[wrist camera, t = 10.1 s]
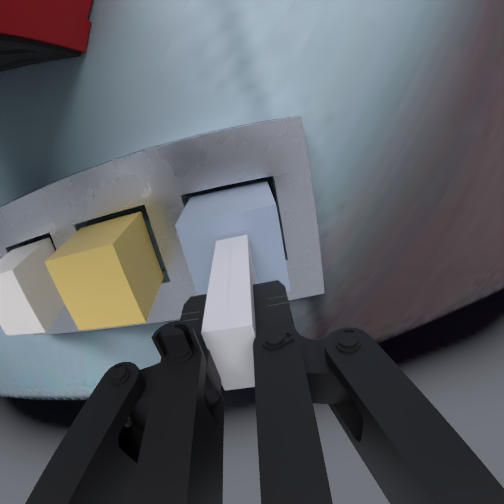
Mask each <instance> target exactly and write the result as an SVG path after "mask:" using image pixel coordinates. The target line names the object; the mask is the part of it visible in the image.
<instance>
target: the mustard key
mask: <svg viewBox="0 0 504 504" xmlns="http://www.w3.org/2000/svg"><path fill="white" fill-rule="evenodd" d="M44 262H45V264H46V267H47V269H48V271H49V273H50V275H51V277H52V280H53V282H54V284H55V286H56V288H57V290H58V292H59V294H60V296H61V298H62V300H63V302H64V304H65V305H66V307H67V309H68V311H69V313H70V315H71V317H72V318H73V320H74V322H75V324H76V325H77V327H78V329H79V330H87V329H96V328H105V327H114V326H122V325H130V324H138V323H145V322H146V321H147V318H148V316H149V313H150V310H151V308H152V305H153V303H154V300H155V298H156V295H157V293H158V290H159V288H160V285H161V283H162V280H163V278H164V276H163V273H162V270H161V268H160V265H159V262H158V259H157V257H156V254H155V251H154V248H153V245H152V242H151V239H150V236H149V233H148V230H147V227H146V224H145V221H144V218H143V215H142V212H137V213H133V214H129V215H125V216H122V217H118V218H114V219H111V220H107V221H104V222H100V223H97V224H93V225H90V226H86V227H83V228H80V229H79V230H78V231H77V232H76V233H75V234H74V235H73V236H71V237H70V238H69V239H68V240H67V241H66V242H65V243H64V244H63V245H61V246H60V247H59V248H58V249H57V250H56V251H55V252H54V253H53V254H52V255H51V256H50V257H49V258H48V259H47V260H45V261H44Z"/></svg>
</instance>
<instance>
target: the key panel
mask: <svg viewBox="0 0 504 504" xmlns="http://www.w3.org/2000/svg"><path fill="white" fill-rule="evenodd" d="M270 176H272V182H273V187H274V193H275V198H276V204H277V209H278V215H279V221H280V227H281V232H282V238H283V244H284V253H285V259H286V265H287V272H288V278H289V284H290V290H291V292H286V293H287V297H288V301H289V300H294V299H299V298H304V297H309V296H314V295H318V294H323V293H324V283H323V272H322V262H321V252H320V242H319V234H318V225H317V217H316V209H315V201H314V194H313V186H312V179H311V172H310V166H309V159H308V153H307V147H306V141H305V135H304V129H303V123H302V118H301V116H293V117H286V118H280V119H274V120H268V121H262V122H257V123H251V124H246V125H241V126H236V127H231V128H227V129H222V130H218V131H213V132H209V133H205V134H200V135H196V136H192V137H188V138H184V139H181V140H177V141H173V142H169V143H166V144H162V145H159V146H155V147H152V148H148V149H145V150H142V151H139V152H135V153H132V154H129V155H126V156H123V157H120V158H117V159H114V160H111V161H108V162H105V163H102V164H100V165H97V166H94V167H91V168H89V169H86V170H83V171H81V172H78V173H75V174H73V175H70V176H68V177H65V178H63V179H60V180H58V181H55V182H53V183H51V184H48V185H46V186H44V187H41V188H39V189H37V190H35V191H32V192H30V193H28V194H26V195H24V196H21V197H19V198H17V199H15V200H13V201H11V202H9V203H7V204H5V205H3V206H1V207H0V259H1V258H3V257H4V256H5V255H6V254H7V253H9V252H10V251H11V250H13V249H16V248H19V247H22V246H21V244H20V242H23V241H26V240H29V239H32V238H35V237H38V236H41V235H44V234H47V233H50V235H51V237H52V240H53V242H54V245H55V247H56V249H58V248H59V247H60V246H61V245H63V244H64V243H65V242H66V241H67V240H68V239H69V238H70V237H71V236H73V235H74V234H75V233H76V232H77V231H78V230H79V229H80V228H83V227H86V226H90V225H89V222H88V220H91V219H94V218H98V217H101V216H105V215H108V214H112V213H115V212H119V211H122V210H126V209H130V208H133V207H137V206H141V205H145V208H146V211H147V214H148V217H149V220H150V224H151V227H152V230H153V233H154V236H155V239H156V242H157V245H158V248H159V251H160V253H161V256H162V259H163V262H164V265H165V268H166V270H162V273H163V276H164V278H163V280H162V283H161V285H160V288H159V290H158V293H157V295H156V298H155V300H154V303H153V305H152V308H151V310H150V313H149V316H148V318H147V321H146V322H145V323H138V324H130V325H122V326H114V327H105V328H96V329H87V330H79V329H78V327H77V325H76V324H75V322H74V320H73V318H72V317H71V315H70V313H69V311H68V309H67V307H66V305H65V306H64V307H63V308H62V310H61V311H60V313H59V314H58V315H57V317H56V318H55V320H54V321H53V323H52V324H51V325H50V327H49V328H48V330H47V331H46V332H45V333H34V335H48V334H60V333H71V332H81V331H91V330H101V329H109V328H118V327H126V326H134V325H142V324H150V323H157V322H164V321H171V320H178V319H180V317H181V315H182V310H183V306H184V304H185V303H186V301H187V300H188V299H189V298H190V297H191V296H197V292H196V289H195V286H194V283H193V280H192V277H191V274H190V271H189V268H188V265H187V262H186V259H185V256H184V253H183V249H182V246H181V243H180V240H179V237H178V233H177V230H176V227H175V225H176V223H177V221H178V219H179V217H180V215H181V214H182V212H183V210H184V208H185V206H186V204H187V203H188V201H189V196H188V194H189V193H193V192H198V191H202V190H207V189H211V188H216V187H220V186H225V185H230V184H234V183H239V182H244V181H249V180H254V179H259V178H264V177H270Z"/></svg>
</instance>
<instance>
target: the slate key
mask: <svg viewBox="0 0 504 504" xmlns="http://www.w3.org/2000/svg"><path fill="white" fill-rule="evenodd" d="M175 227H176V230H177V233H178V237H179V240H180V243H181V246H182V249H183V253H184V256H185V259H186V262H187V265H188V268H189V271H190V274H191V277H192V280H193V283H194V286H195V289H196V292H197V295H203V294H207V292H208V286H209V279H210V273H211V267H212V262H213V256H214V250H215V244H216V241H218V240H223V239H228V238H233V237H238V236H243V235H248V240H249V245H250V249H251V254H252V258H253V263H254V267H255V272H256V276H257V281H258V284H259V283H265V282H270V281H275V280H279V281H280V282H281V283H282V284H283V285H284V286H285V288H286V292H291V290H290V284H289V278H288V272H287V265H286V259H285V253H284V247H283V241H282V235H281V230H280V224H279V218H278V212H277V207H276V203H275V200H274V198H273V195H272V193H271V190H270V187H269V185H268V182H267V181H264V182H258V183H253V184H248V185H243V186H238V187H233V188H229V189H224V190H219V191H215V192H210V193H206V194H201V195H197V196H192V197H190V199H189V201H188V203H187V204H186V206H185V208H184V210H183V212H182V214H181V215H180V217H179V219H178V221H177V223H176V225H175Z"/></svg>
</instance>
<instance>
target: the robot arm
mask: <svg viewBox="0 0 504 504" xmlns="http://www.w3.org/2000/svg"><path fill="white" fill-rule="evenodd" d="M152 340H153V342H154V344H155V346H156V348H157V349H158V351H159V353H160V355H161V357H162V358H161V362H160V363H158V364H156V365H153V366H150V367H147V368H144V369H141V370H139V368H138V367H137V366H136V365H135V364H134V363H131V362H122V363H119V364H116V365H114V366H113V367H111V368H110V369H109V370H108V371H107V372H106V373H105V374H104V376H103V377H102V379H101V380H100V382H99V383H98V385H97V386H96V388H95V389H94V391H93V393H92V394H91V396H90V397H89V399H88V400H87V402H86V403H85V405H84V406H83V408H82V410H81V411H80V413H79V414H78V416H77V417H76V419H75V421H74V422H73V424H72V425H71V427H70V429H69V430H68V432H67V433H66V435H65V436H64V438H63V440H62V441H61V443H60V445H59V446H58V448H57V450H56V452H55V453H54V455H53V456H52V458H51V460H50V461H49V463H48V465H47V466H46V468H45V470H44V472H43V473H42V475H41V477H40V479H39V480H38V482H37V484H36V485H35V487H34V489H33V491H32V493H31V494H30V496H29V498H28V500H27V502H26V504H222V499H223V497H222V493H223V435H224V433H223V431H224V400H223V397H222V395H221V392H220V391H221V383H222V385H223V388H224V390H232V389H241V388H248V387H255V398H256V416H257V433H258V434H257V435H258V453H259V471H260V487H261V504H332V498H331V493H330V487H329V482H328V477H327V472H326V467H325V462H324V457H323V452H322V447H321V442H320V437H319V432H318V427H317V422H316V417H315V413H314V408H313V403H319V404H329V406H330V408H331V410H332V411H333V413H334V414H335V416H336V418H337V419H338V421H339V423H340V424H341V426H342V427H343V429H344V431H345V432H346V434H347V435H348V437H349V439H350V440H351V442H352V444H353V445H354V447H355V448H356V450H357V452H358V453H359V455H360V456H361V458H362V460H363V461H364V463H365V464H366V466H367V468H368V469H369V471H370V472H371V474H372V476H373V477H374V479H375V480H376V482H377V483H378V485H379V487H380V488H381V490H382V491H383V493H384V495H385V496H386V498H387V499H388V501H389V502H390V504H504V488H503V487H502V486H501V485H500V483H499V482H498V481H497V480H496V478H495V477H494V476H493V475H492V474H491V472H490V471H489V470H488V469H487V468H486V466H485V465H484V464H483V463H482V462H481V460H480V459H479V458H478V457H477V456H476V454H474V452H473V451H472V450H471V449H470V447H469V446H468V445H467V444H466V443H465V441H464V440H463V439H462V438H461V437H460V436H459V435H458V433H457V432H456V431H455V430H454V429H453V428H452V427H451V425H450V424H449V423H448V422H447V421H446V420H445V418H444V417H443V416H442V415H441V414H440V413H439V412H438V411H437V409H436V408H435V407H434V406H433V405H432V404H431V403H430V401H429V400H428V399H427V398H426V397H425V396H424V395H423V394H422V392H421V391H420V390H419V389H418V388H417V387H416V386H415V385H414V384H413V382H412V381H411V380H410V379H409V378H408V377H407V376H406V375H405V374H404V373H403V371H402V370H400V368H399V367H398V366H397V365H396V364H395V363H394V361H393V360H392V359H391V358H390V357H389V356H388V355H387V354H386V353H385V352H384V351H383V350H382V349H381V347H380V346H379V345H378V344H377V343H376V342H375V341H374V340H373V339H372V338H371V337H370V336H369V334H367V333H366V332H364V331H363V330H360V329H357V328H343V329H339V330H336V331H335V332H333V333H331V334H330V335H329V336H328V338H327V339H326V341H324V340H310V339H307V338H304V337H303V336H301V335H299V333H298V332H297V331H296V329H295V327H294V322H293V318H292V314H291V310H290V305H289V301H288V297H287V293H286V288H285V286H284V285H283V284H282V283H281V282H280V281H279V280H275V281H270V282H265V283H259V284H258V281H257V276H256V272H255V267H254V263H253V258H252V254H251V249H250V245H249V240H248V235H243V236H238V237H233V238H228V239H223V240H218V241H216V244H215V250H214V256H213V262H212V267H211V273H210V279H209V286H208V292H207V294H203V295H197V296H191V297H190V298H189V299H188V300H187V301H186V303H185V304H184V306H183V310H182V315H181V317H180V321H175V322H171V323H167V324H166V325H164V326H162V327H160V328H159V329H158V330H157V331H156V332H155V333H154V335H153V336H152ZM127 419H129V422H128V423H127V424H126V425H125V423H126V421H127Z"/></svg>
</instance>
